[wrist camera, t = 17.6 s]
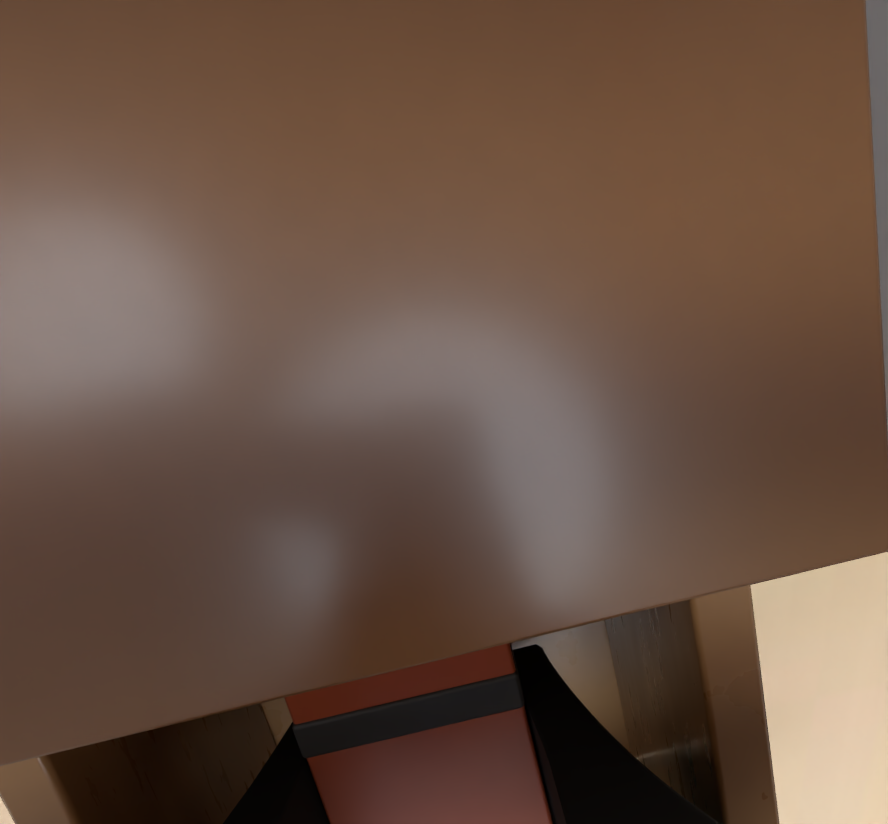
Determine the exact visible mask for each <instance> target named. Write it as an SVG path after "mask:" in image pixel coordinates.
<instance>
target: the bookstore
mask: <svg viewBox="0 0 888 824" xmlns="http://www.w3.org/2000/svg"><path fill="white" fill-rule="evenodd" d="M866 19H867V38H868V58H869V77H870V97H871V117H872V136H873V156H874V175H875V195H876V215H877V234H878V254H879V273H880V293H881V313H882V332H883V352H884V371H885V391H886V411H887V430H888V0H866Z"/></svg>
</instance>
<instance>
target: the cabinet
mask: <svg viewBox="0 0 888 824" xmlns="http://www.w3.org/2000/svg"><path fill="white" fill-rule="evenodd" d="M884 552H888V430H887V411H886V391H885V371H884V352H883V332H882V313H881V293H880V273H879V254H878V234H877V215H876V195H875V175H874V156H873V136H872V117H871V97H870V77H869V58H868V38H867V19H866V0H0V766H4V765H8V764H12V763H16V762H20V761H24V760H28V759H33V758H37V757H41V756H45V755H49V754H53V753H57V752H62V751H66V750H70V749H74V748H78V747H82V746H86V745H90V744H95V743H99V742H103V741H107V740H111V739H115V738H119V737H124V736H128V735H132V734H136V733H140V732H144V731H148V730H152V729H157V728H161V727H165V726H169V725H173V724H177V723H181V722H186V721H190V720H194V719H198V718H202V717H206V716H210V715H214V714H219V713H223V712H227V711H231V710H235V709H239V708H243V707H248V706H252V705H256V704H260V703H264V702H268V701H272V700H276V699H281V698H285V697H289V696H293V695H297V694H301V693H305V692H310V691H314V690H318V689H322V688H326V687H330V686H334V685H338V684H343V683H347V682H351V681H355V680H359V679H363V678H367V677H372V676H376V675H380V674H384V673H388V672H392V671H396V670H400V669H405V668H409V667H413V666H417V665H421V664H425V663H429V662H433V661H438V660H442V659H446V658H450V657H454V656H458V655H462V654H467V653H471V652H475V651H479V650H483V649H487V648H491V647H495V646H500V645H504V644H508V643H512V642H516V641H520V640H524V639H529V638H533V637H537V636H541V635H545V634H549V633H553V632H557V631H562V630H566V629H570V628H574V627H578V626H582V625H586V624H591V623H595V622H599V621H603V620H607V619H611V618H615V617H619V616H624V615H628V614H632V613H636V612H640V611H644V610H648V609H653V608H657V607H661V606H665V605H669V604H673V603H677V602H681V601H686V600H690V599H694V598H698V597H702V596H706V595H710V594H715V593H719V592H723V591H727V590H731V589H735V588H739V587H743V586H748V585H752V584H756V583H760V582H764V581H768V580H772V579H776V578H781V577H785V576H789V575H793V574H797V573H801V572H805V571H810V570H814V569H818V568H822V567H826V566H830V565H834V564H838V563H843V562H847V561H851V560H855V559H859V558H863V557H867V556H872V555H876V554H880V553H884Z"/></svg>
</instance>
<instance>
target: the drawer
mask: <svg viewBox="0 0 888 824" xmlns="http://www.w3.org/2000/svg"><path fill="white" fill-rule="evenodd" d="M534 644H537V645H539V646H540V647H542V648H543V650H544V652H545V654H546V655H547V657H548V659H549V660H550V662H551V663H552V665H553V666H554V668H555V669H556V671H557V672H558V674H559V675H560V676H561V678H562V679H563V680H564V681H565V683H566V684H567V685H568V687H569V688H570V689H571V690H572V692H573V693H574V694H575V695H576V696H577V698H578V699H579V700H580V701H581V702H582V703H583V704H584V706H585V707H586V708H587V709H588V710H589V711H590V712H591V714H592V715H593V716H594V717H595V718H596V719H597V720H598V721H599V722H600V723H601V724H602V725H603V726H604V727H605V728H606V729H607V730H608V732H609V733H610V734H611V735H612V736H613V737H614V738H615V739H616V740H617V741H618V742H619V743H621V744H622V745H623V746H624V747H625V748H626V749H627V750H628V751H629V752H630V753H631V754H632V755H633V756H634V757H635V758H637V759H638V760H639V761H640V762H641V763H642V764H643V765H645V766H646V767H647V768H648V769H649V770H650V771H651V772H653V773H654V774H655V775H656V776H657V777H659V778H660V779H661V780H662V781H664V782H665V783H666V784H667V785H669V786H670V787H671V788H672V789H673V790H675V791H676V792H677V793H678V794H680V795H681V796H682V797H684V798H685V799H687V800H688V801H689V802H691V803H692V804H694V805H695V806H696V807H698V808H699V809H701V810H702V811H703V812H705V813H706V814H708V815H709V816H710V817H712V818H713V819H715V820H716V821H717V822H719V823H720V824H779V817H778V809H777V801H776V793H775V784H774V776H773V768H772V760H771V752H770V743H769V735H768V727H767V719H766V711H765V702H764V694H763V686H762V678H761V670H760V661H759V653H758V645H757V637H756V629H755V620H754V612H753V604H752V596H751V588H750V585H748V586H743V587H739V588H735V589H731V590H727V591H723V592H719V593H715V594H710V595H706V596H702V597H698V598H694V599H690V600H686V601H681V602H677V603H673V604H669V605H665V606H661V607H657V608H653V609H648V610H644V611H640V612H636V613H632V614H628V615H624V616H619V617H615V618H611V619H607V620H603V621H599V622H595V623H591V624H586V625H582V626H578V627H574V628H570V629H566V630H562V631H557V632H553V633H549V634H545V635H541V636H537V637H533V638H529V639H524V640H520V641H516V642H512V643H511V645H512V649H513V650H514V649H518V648H522V647H526V646H530V645H534ZM292 722H293V720H292V718H291V715H290V712H289V709H288V707H287V704H286V701H285V698H281V699H276V700H272V701H268V702H264V703H260V704H256V705H252V706H248V707H243V708H239V709H235V710H231V711H227V712H223V713H219V714H214V715H210V716H206V717H202V718H198V719H194V720H190V721H186V722H181V723H177V724H173V725H169V726H165V727H161V728H157V729H152V730H148V731H144V732H140V733H136V734H132V735H128V736H124V737H119V738H115V739H111V740H107V741H103V742H99V743H95V744H90V745H86V746H82V747H78V748H74V749H70V750H66V751H62V752H57V753H53V754H49V755H45V756H41V757H37V758H33V759H28V760H24V761H20V762H16V763H12V764H8V765H4V766H0V797H1V798H2V800H3V802H4V804H5V806H6V808H7V809H8V811H9V813H10V815H11V817H12V819H13V820H14V822H15V824H223V823H224V821H225V820H226V819H227V817H228V816H229V815H230V813H231V812H232V810H233V809H234V808H235V806H236V805H237V804H238V802H239V801H240V799H241V798H242V797H243V795H244V794H245V793H246V791H247V790H248V788H249V787H250V786H251V784H252V783H253V781H254V780H255V778H256V777H257V775H258V774H259V772H260V771H261V769H262V768H263V766H264V765H265V763H266V762H267V760H268V759H269V757H270V756H271V754H272V753H273V751H274V750H275V748H276V746H277V745H278V743H279V742H280V740H281V739H282V737H283V736H284V734H285V733H286V731H287V729H288V728H289V726H290V725H291V723H292ZM553 820H554V819H553ZM554 824H555V822H554Z"/></svg>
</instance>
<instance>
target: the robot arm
mask: <svg viewBox="0 0 888 824" xmlns="http://www.w3.org/2000/svg"><path fill="white" fill-rule="evenodd" d="M513 653H514V657H515V661H516V665H517V669H518V673H519V677H520V681H521V685H522V689H523V694H524V698H525V705H524V706H525V710H526V714H527V718H528V722H529V726H530V730H531V735H532V739H533V743H534V747H535V751H536V755H537V759H538V764H539V768H540V772H541V776H542V780H543V784H544V789H545V793H546V797H547V801H548V804H549V807H550V810H551V813H552V816H553V819H554V822H555V824H720V823H719V822H717V821H716V820H715V819H713V818H712V817H710V816H709V815H708V814H706V813H705V812H703V811H702V810H701V809H699V808H698V807H696V806H695V805H694V804H692V803H691V802H689V801H688V800H687V799H685V798H684V797H682V796H681V795H680V794H678V793H677V792H676V791H675V790H673V789H672V788H671V787H670V786H669V785H667V784H666V783H665V782H664V781H662V780H661V779H660V778H659V777H657V776H656V775H655V774H654V773H653V772H651V771H650V770H649V769H648V768H647V767H646V766H645V765H643V764H642V763H641V762H640V761H639V760H638V759H637V758H635V757H634V756H633V755H632V754H631V753H630V752H629V751H628V750H627V749H626V748H625V747H624V746H623V745H622V744H621V743H619V742H618V741H617V740H616V739H615V738H614V737H613V736H612V735H611V734H610V733H609V732H608V730H607V729H606V728H605V727H604V726H603V725H602V724H601V723H600V722H599V721H598V720H597V719H596V718H595V717H594V716H593V715H592V714H591V712H590V711H589V710H588V709H587V708H586V707H585V706H584V704H583V703H582V702H581V701H580V700H579V699H578V698H577V696H576V695H575V694H574V693H573V692H572V690H571V689H570V688H569V687H568V685H567V684H566V683H565V681H564V680H563V679H562V678H561V676H560V675H559V674H558V672H557V671H556V669H555V668H554V666H553V665H552V663H551V662H550V660H549V659H548V657H547V655H546V654H545V652H544V650H543V648H542V647H540V646H539V645H537V644H534V645H530V646H526V647H522V648H518V649H514V650H513ZM292 727H293V722H292V723H291V725H290V726H289V728H288V729H287V731H286V733H285V734H284V736H283V737H282V739H281V740H280V742H279V743H278V745H277V746H276V748H275V750H274V751H273V753H272V754H271V756H270V757H269V759H268V760H267V762H266V763H265V765H264V766H263V768H262V769H261V771H260V772H259V774H258V775H257V777H256V778H255V780H254V781H253V783H252V784H251V786H250V787H249V788H248V790H247V791H246V793H245V794H244V795H243V797H242V798H241V799H240V801H239V802H238V804H237V805H236V806H235V808H234V809H233V810H232V812H231V813H230V815H229V816H228V817H227V819H226V820H225V821H224V823H223V824H330V822H329V819H328V817H327V814H326V811H325V808H324V806H323V803H322V800H321V797H320V795H319V792H318V789H317V786H316V784H315V781H314V778H313V775H312V773H311V770H310V767H309V764H308V762H307V759H306V758H304V757H303V756H302V754H301V751H300V749H299V746H298V743H297V740H296V738H295V735H294V732H293V729H292Z"/></svg>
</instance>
